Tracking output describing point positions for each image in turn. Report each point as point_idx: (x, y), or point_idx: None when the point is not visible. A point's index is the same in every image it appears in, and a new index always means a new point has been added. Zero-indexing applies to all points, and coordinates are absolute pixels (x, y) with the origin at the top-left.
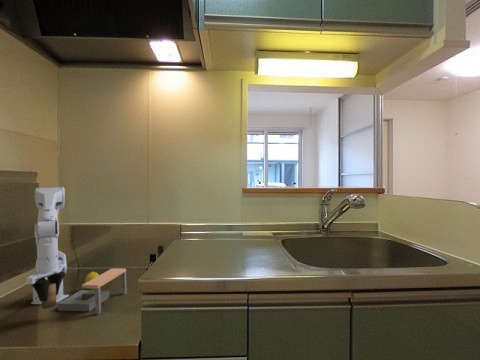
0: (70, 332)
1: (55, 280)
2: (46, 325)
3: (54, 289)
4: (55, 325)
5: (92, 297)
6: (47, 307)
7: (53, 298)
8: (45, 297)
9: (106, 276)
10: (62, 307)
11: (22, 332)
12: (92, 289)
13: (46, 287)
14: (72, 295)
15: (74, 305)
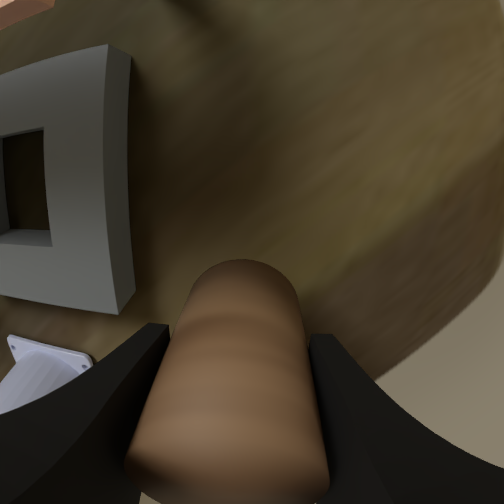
0: (411, 16)
1: (101, 484)
2: (335, 220)
3: (227, 370)
4: (337, 157)
5: (9, 120)
6: (296, 294)
7: (253, 301)
8: (350, 357)
9: None
10: (124, 267)
11: (399, 300)
12: None
13: (418, 447)
14: (15, 292)
15: (109, 173)
